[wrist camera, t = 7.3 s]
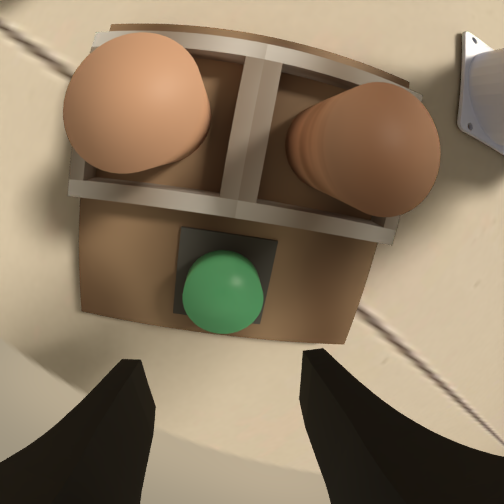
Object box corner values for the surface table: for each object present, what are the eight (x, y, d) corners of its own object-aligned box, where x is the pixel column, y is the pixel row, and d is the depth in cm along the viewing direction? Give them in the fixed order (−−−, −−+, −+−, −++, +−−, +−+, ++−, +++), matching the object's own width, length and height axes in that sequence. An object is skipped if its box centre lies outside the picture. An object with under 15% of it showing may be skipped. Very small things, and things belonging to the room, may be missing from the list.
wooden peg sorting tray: (396, 85, 15) (483, 65, 8) (336, 331, 20) (381, 411, 13) (120, 33, 13) (61, -25, 5) (90, 299, 17) (36, 374, 10)
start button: (265, 255, 15) (270, 268, 13) (252, 320, 16) (255, 337, 14) (190, 245, 14) (186, 256, 13) (183, 311, 15) (179, 328, 14)
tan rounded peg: (217, 78, 13) (214, 34, 7) (205, 167, 14) (192, 179, 8) (128, 74, 12) (77, 37, 7) (117, 160, 14) (57, 171, 8)
